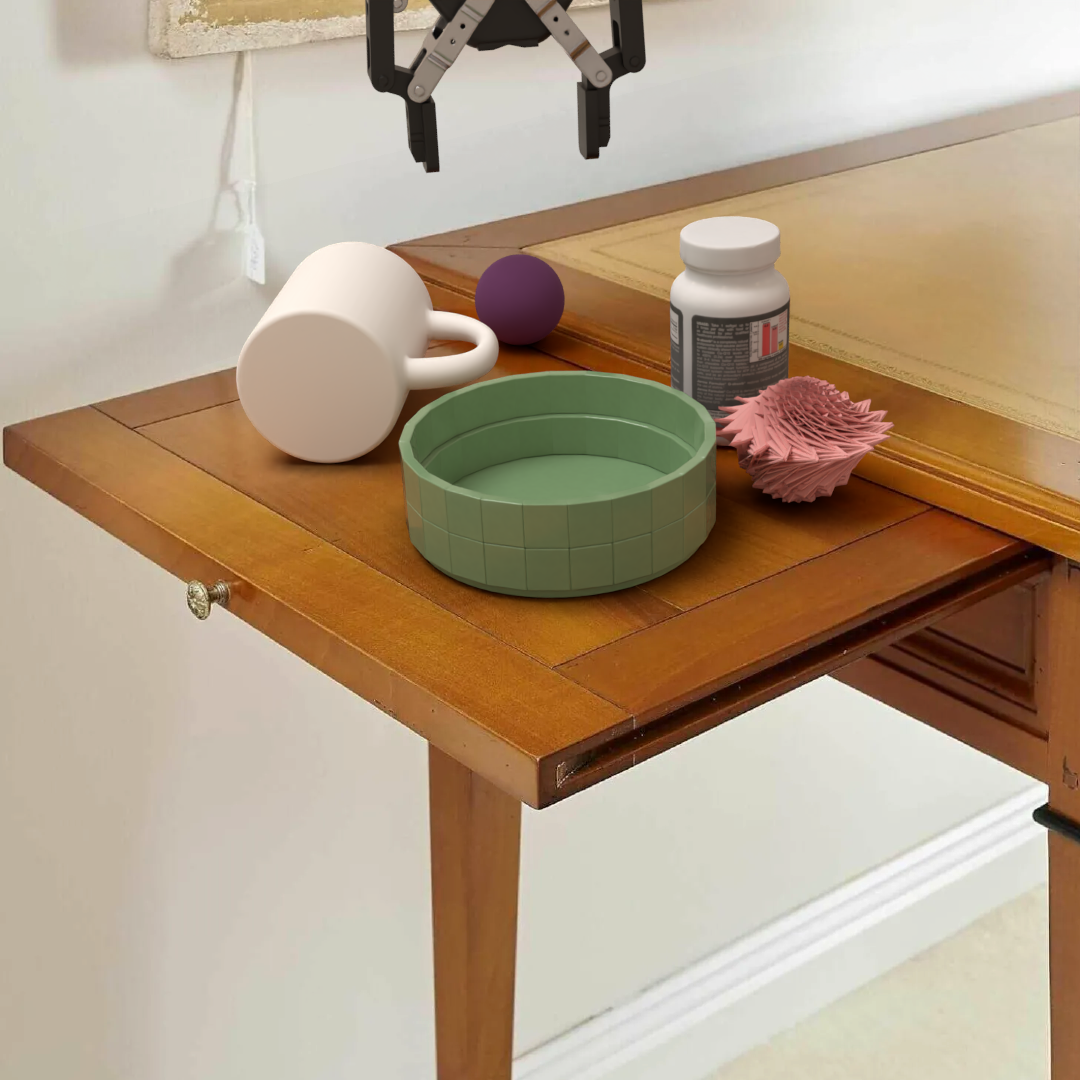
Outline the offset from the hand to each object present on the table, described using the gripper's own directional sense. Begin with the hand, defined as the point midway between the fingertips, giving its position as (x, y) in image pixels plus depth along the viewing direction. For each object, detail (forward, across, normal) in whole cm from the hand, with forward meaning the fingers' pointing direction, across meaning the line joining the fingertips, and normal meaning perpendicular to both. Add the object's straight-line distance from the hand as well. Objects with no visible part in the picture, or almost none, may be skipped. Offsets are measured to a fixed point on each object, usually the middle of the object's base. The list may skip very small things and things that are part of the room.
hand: (511, 162), depth 87 cm
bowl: (+10, -2, -22) cm, 24 cm away
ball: (+10, 0, 0) cm, 10 cm away
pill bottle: (+10, +8, -14) cm, 19 cm away
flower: (+10, +9, -22) cm, 26 cm away
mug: (+10, -8, -9) cm, 16 cm away
